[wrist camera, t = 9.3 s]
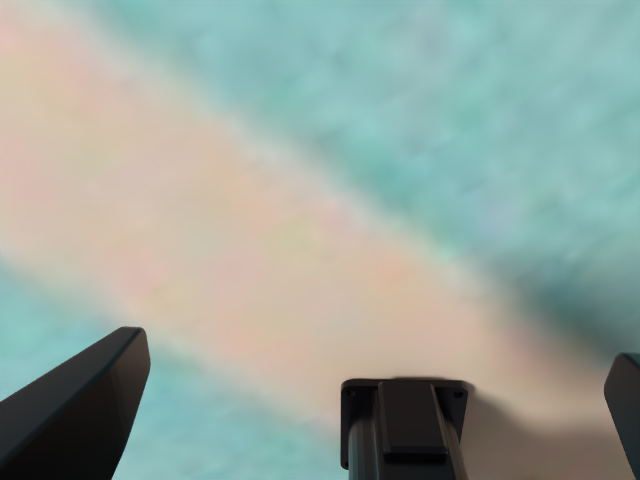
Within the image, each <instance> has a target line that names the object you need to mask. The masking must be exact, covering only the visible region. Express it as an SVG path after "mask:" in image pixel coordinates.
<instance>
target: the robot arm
mask: <svg viewBox="0 0 640 480" xmlns="http://www.w3.org/2000/svg"><path fill="white" fill-rule="evenodd" d="M150 365H151V361H150V355H149V348H148V342H147V336H146V332H145V330H144V329H143V328H141V327H127V326H124V327H120V328H118V329H117V330H115V331H114V332H112V333H110V334H109V335H107V336H106V337H104V338H102V339H101V340H99V341H97V342H96V343H94V344H93V345H91V346H89V347H88V348H86V349H85V350H83V351H81V352H80V353H78V354H77V355H75V356H73V357H72V358H70V359H68V360H67V361H65V362H64V363H62V364H60V365H59V366H57V367H56V368H54V369H52V370H51V371H49V372H48V373H46V374H44V375H43V376H41V377H39V378H38V379H36V380H35V381H33V382H31V383H30V384H28V385H27V386H25V387H23V388H22V389H20V390H19V391H17V392H15V393H14V394H12V395H10V396H9V397H7V398H6V399H4V400H2V401H1V402H0V480H111V479H112V477H113V475H114V472H115V470H116V468H117V466H118V463H119V461H120V459H121V457H122V454H123V452H124V449H125V447H126V444H127V441H128V438H129V435H130V432H131V429H132V426H133V423H134V420H135V417H136V413H137V410H138V407H139V404H140V401H141V398H142V394H143V391H144V388H145V385H146V382H147V379H148V375H149V372H150ZM348 389H353V390H352V391H349V390H348ZM456 391H459V392H456ZM604 395H605V399H606V402H607V405H608V407H609V410H610V413H611V415H612V418H613V421H614V424H615V426H616V429H617V432H618V434H619V437H620V440H621V443H622V445H623V448H624V451H625V453H626V456H627V459H628V461H629V464H630V466H631V469H632V471H633V474H634V476H635V478H636V480H640V353H631V352H622V353H619V354H618V355H617V356H616V357H615V359H614V362H613V364H612V367H611V369H610V372H609V374H608V377H607V379H606V382H605V385H604ZM467 398H468V391H467V388H466V386H465V384H464V383H462V382H453V381H390V380H347V381H345V382H343V383H342V385H341V467H342V468H344V469H346V470H349V480H469V479H468V476H467V472H466V468H465V464H464V460H463V456H462V453H461V449H460V439H461V433H462V427H463V421H464V415H465V410H466V404H467Z"/></svg>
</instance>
